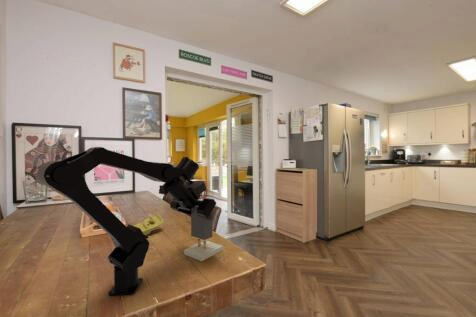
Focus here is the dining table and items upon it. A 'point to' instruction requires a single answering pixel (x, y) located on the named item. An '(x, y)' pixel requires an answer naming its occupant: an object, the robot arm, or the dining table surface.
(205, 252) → the board
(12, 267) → the dining table surface
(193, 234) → the block
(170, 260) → the dining table surface
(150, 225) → the plastic component
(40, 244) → the dining table surface
